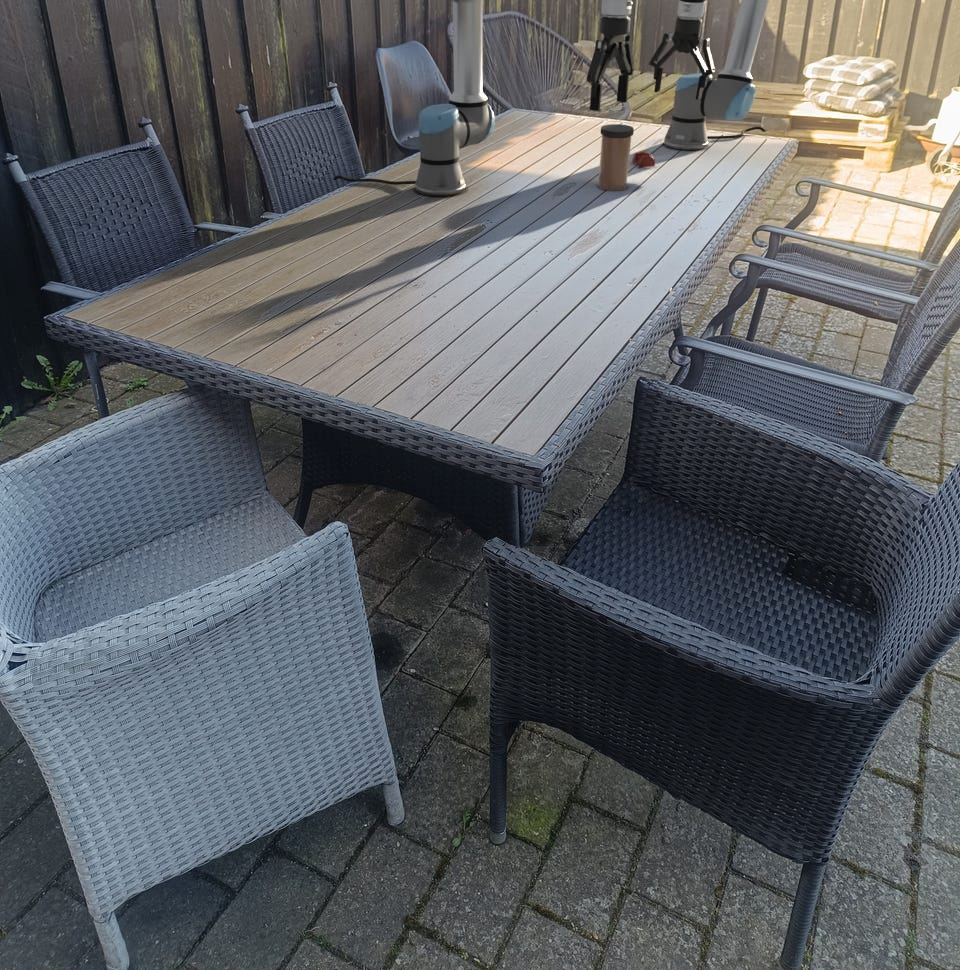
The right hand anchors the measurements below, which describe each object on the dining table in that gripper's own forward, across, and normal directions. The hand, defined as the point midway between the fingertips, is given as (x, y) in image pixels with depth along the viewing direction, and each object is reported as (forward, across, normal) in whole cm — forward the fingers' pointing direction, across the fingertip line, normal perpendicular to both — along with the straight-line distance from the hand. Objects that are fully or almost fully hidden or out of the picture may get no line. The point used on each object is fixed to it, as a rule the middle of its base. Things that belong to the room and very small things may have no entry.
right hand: (677, 95), depth 259 cm
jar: (+23, -8, -24) cm, 34 cm away
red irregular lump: (+24, -10, +4) cm, 26 cm away
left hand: (-6, -2, -46) cm, 46 cm away
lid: (+6, -9, -23) cm, 25 cm away
